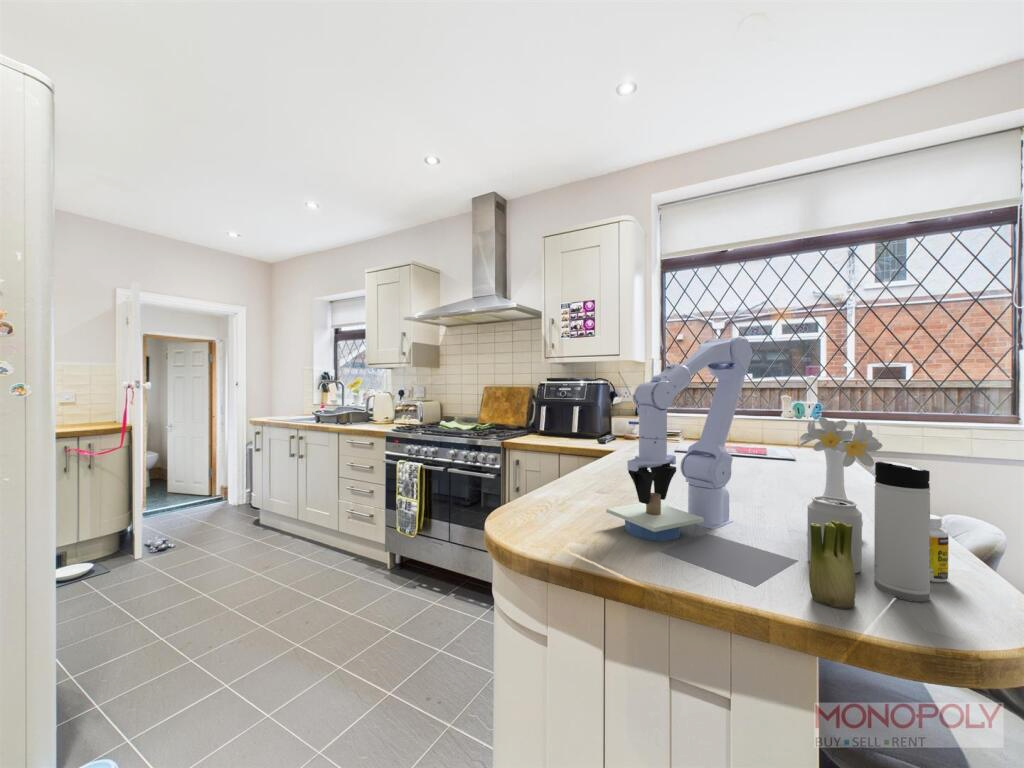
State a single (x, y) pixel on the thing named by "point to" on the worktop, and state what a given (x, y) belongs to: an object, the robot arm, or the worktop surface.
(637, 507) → the lid
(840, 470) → the flower vase
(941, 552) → the supplement bottle
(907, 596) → the travel mug
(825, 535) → the fennel bulb
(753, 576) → the mat
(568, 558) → the worktop surface
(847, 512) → the can
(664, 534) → the bowl
